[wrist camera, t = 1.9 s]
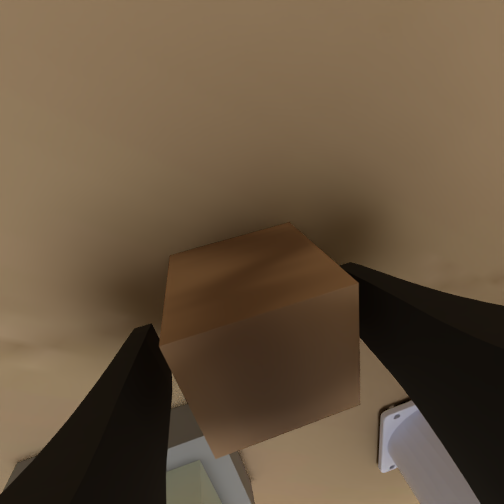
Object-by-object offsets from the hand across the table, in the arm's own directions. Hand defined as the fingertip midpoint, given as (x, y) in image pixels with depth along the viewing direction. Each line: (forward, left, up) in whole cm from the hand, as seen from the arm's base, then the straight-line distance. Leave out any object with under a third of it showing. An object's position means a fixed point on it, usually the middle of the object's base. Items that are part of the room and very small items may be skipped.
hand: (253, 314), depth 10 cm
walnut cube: (0, 0, -2) cm, 2 cm away
